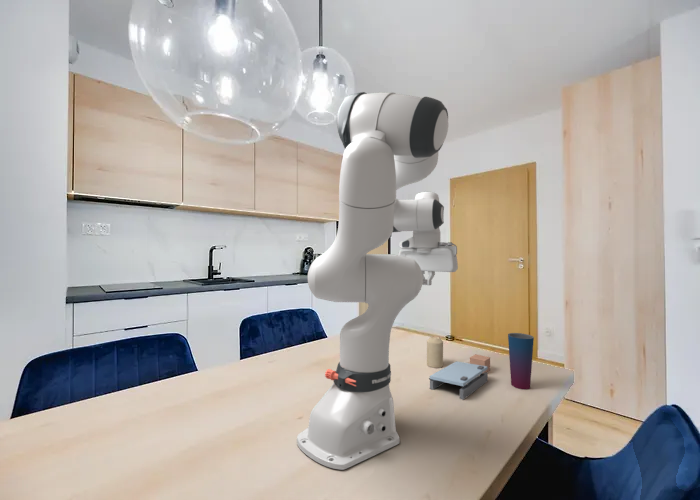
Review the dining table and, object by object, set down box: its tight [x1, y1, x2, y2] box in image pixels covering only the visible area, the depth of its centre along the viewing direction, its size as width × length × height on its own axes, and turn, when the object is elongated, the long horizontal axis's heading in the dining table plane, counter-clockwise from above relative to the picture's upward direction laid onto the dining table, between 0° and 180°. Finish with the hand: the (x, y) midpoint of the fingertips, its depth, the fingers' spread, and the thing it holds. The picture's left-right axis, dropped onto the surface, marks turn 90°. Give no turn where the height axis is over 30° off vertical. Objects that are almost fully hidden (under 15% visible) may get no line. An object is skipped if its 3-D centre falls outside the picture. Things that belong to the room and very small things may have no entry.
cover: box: [428, 361, 488, 387], centre depth 96 cm, size 18×10×2 cm, turn 137°
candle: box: [426, 336, 444, 369], centre depth 112 cm, size 6×6×10 cm
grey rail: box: [429, 372, 489, 401], centre depth 95 cm, size 18×10×3 cm, turn 137°
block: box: [469, 353, 491, 373], centre depth 108 cm, size 5×5×4 cm
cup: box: [507, 332, 535, 390], centre depth 95 cm, size 7×7×15 cm
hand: (426, 285), depth 104 cm, fingers closed
